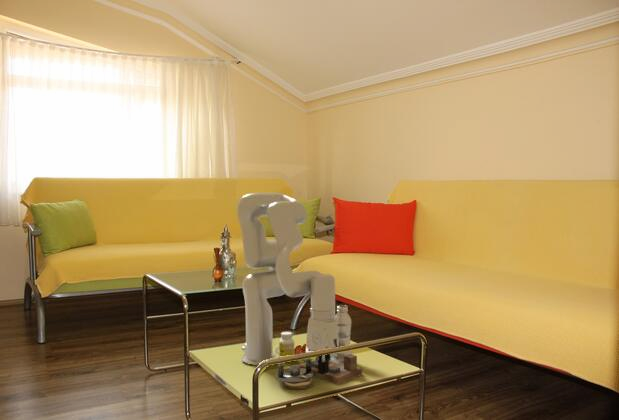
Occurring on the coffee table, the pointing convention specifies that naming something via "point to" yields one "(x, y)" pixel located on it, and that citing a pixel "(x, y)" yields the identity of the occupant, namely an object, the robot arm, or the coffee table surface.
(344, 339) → the plastic bottle
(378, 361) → the coffee table surface
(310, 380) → the capstan
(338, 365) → the stand
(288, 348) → the supplement bottle
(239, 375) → the coffee table surface
